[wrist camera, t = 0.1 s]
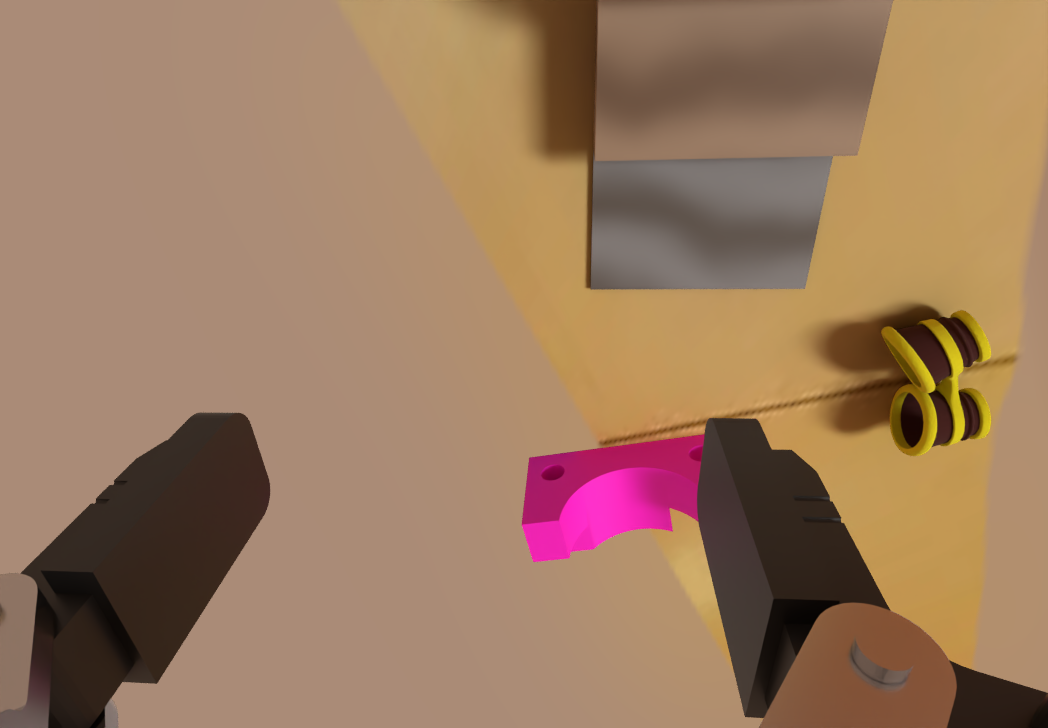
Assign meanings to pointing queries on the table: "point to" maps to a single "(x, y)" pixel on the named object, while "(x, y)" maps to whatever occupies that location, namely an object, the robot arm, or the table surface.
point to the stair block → (723, 135)
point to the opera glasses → (927, 361)
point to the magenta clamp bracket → (607, 493)
